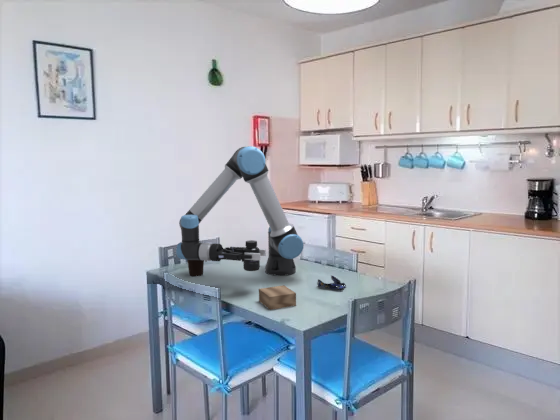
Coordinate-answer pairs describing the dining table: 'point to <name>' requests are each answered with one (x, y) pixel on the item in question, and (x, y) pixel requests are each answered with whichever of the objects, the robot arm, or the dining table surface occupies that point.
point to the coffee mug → (195, 267)
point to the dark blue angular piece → (332, 284)
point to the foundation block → (277, 297)
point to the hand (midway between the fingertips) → (262, 254)
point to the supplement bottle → (251, 264)
